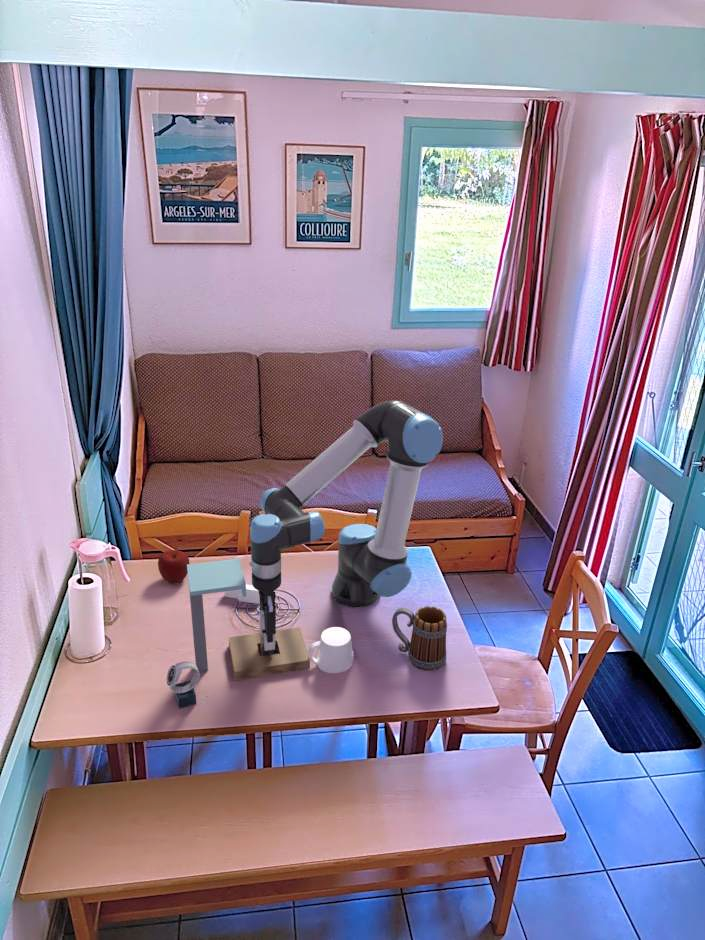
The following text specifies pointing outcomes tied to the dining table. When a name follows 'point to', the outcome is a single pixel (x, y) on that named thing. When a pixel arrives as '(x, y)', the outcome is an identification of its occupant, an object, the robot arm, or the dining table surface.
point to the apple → (173, 566)
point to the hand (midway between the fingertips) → (268, 643)
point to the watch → (183, 684)
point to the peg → (262, 627)
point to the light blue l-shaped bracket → (204, 582)
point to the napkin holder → (251, 594)
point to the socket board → (253, 665)
